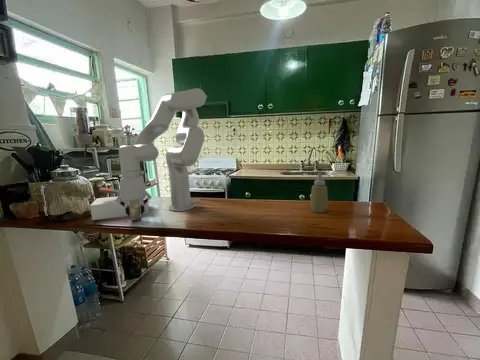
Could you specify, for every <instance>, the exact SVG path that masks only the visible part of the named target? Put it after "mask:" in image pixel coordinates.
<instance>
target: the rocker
mask: <svg viewBox="0 0 480 360" xmlns="http://www.w3.org/2000/svg"><path fill="white" fill-rule="evenodd" d="M98 193H106V194H112V195H117V193H120V189H114V188H108V187H100V188H99V189H98Z"/></svg>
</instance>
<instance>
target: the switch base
mask: <svg viewBox="0 0 480 360" xmlns="http://www.w3.org/2000/svg"><path fill="white" fill-rule="evenodd" d="M116 195H117V196H109V197H100V198H99V197H97V198H95V200H94V201H93V202H92V203H91V204H90V205H89V207H90V214H91V219H92V221H97V220H106V219H107V220H108V219H115V218H121V217H128V214H126V210H125V207H124V206H122V205H121V204H119V203H117V202H116V201H115V200H116V199H117V197H118V196H119V195H120V193H117V194H116ZM146 198H147V196H146ZM146 198H144V199H143V200H145V199H146ZM120 200H121V198H120ZM121 201H122V200H121ZM123 202H125V201H123ZM139 204H140V206H141V203H140V200H139ZM128 206H129V209H130V204H129V201H128ZM149 207H150V205H149V200H148V201H147V202H146V204H145V205H144V210H145V212H143V215H146V214H149V210H150V209H149ZM140 214H141V207H140ZM129 217H131V213H130V216H129Z"/></svg>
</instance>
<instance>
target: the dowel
mask: <svg viewBox="0 0 480 360" xmlns="http://www.w3.org/2000/svg"><path fill="white" fill-rule="evenodd" d="M129 204H130V213H131V216H130V219H131V223H132V222H133V223H138V222H140V221H142V215H141V214H140V204H139V200H131V201H129Z"/></svg>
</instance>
